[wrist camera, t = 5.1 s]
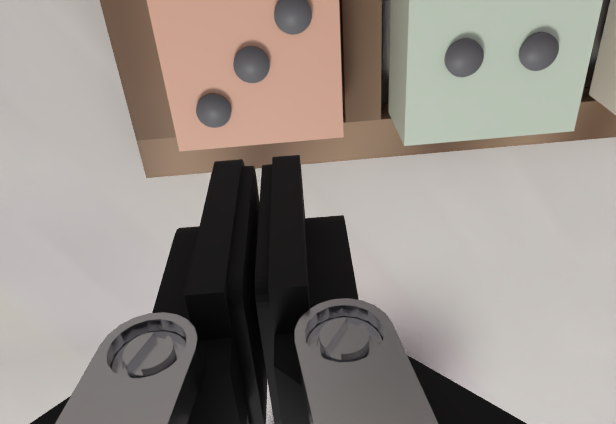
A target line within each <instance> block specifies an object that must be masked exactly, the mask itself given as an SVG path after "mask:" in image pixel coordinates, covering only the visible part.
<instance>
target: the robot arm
mask: <svg viewBox="0 0 616 424" xmlns="http://www.w3.org/2000/svg"><path fill="white" fill-rule="evenodd" d="M267 379H268V385H269V392H270V398H271V405H272V411H273V417H274V423H275V424H526V423H525V422H523V421H521V420H519V419H518V418H516V417H514V416H512V415H511V414H509V413H507V412H505V411H504V410H502V409H500V408H498V407H497V406H495V405H493V404H491V403H490V402H488V401H486V400H484V399H483V398H481V397H479V396H477V395H476V394H474V393H472V392H471V391H469V390H467V389H465V388H464V387H462V386H460V385H458V384H457V383H455V382H453V381H451V380H450V379H448V378H446V377H444V376H443V375H441V374H439V373H437V372H436V371H434V370H432V369H430V368H429V367H427V366H425V365H423V364H422V363H420V362H418V361H416V360H415V359H413V358H411V357H409V356H408V355H407V354H406V352H405V350H404V348H403V345H402V343H401V341H400V339H399V337H398V334H397V332H396V330H395V328H394V326H393V323H392V322H391V320H390V319H389V318H388V316H387V315H386V313H384V312H383V311H382V310H380V309H379V308H378V307H376V306H375V305H373V304H370V303H367V302H365V301H362V300H358V294H357V288H356V282H355V277H354V271H353V265H352V259H351V254H350V248H349V242H348V236H347V230H346V225H345V219H344V216H330V217H317V218H305V211H304V199H303V187H302V175H301V163H300V155H291V156H278V157H272V164H268V165H262V175H261V190H260V202H259V195H258V187H257V180H256V172H255V167H254V166H245V165H244V161H243V159H239V160H226V161H215V162H214V165H213V170H212V174H211V179H210V183H209V187H208V192H207V196H206V201H205V205H204V210H203V214H202V218H201V223H200V227H187V228H179V229H177V231H176V233H175V236H174V240H173V243H172V247H171V250H170V253H169V257H168V260H167V264H166V267H165V271H164V274H163V278H162V281H161V285H160V288H159V292H158V295H157V299H156V302H155V306H154V309H153V313H149V314H145V315H142V316H138V317H135V318H133V319H131V320H129V321H127V322H125V323H123V324H121V325H119V326H118V327H117V328H116V329H114V330H113V331H112V332H111V333H109V334H108V335H107V337H106V338H105V339H104V341H103V342H102V343H101V344H100V346H99V348H98V349H97V351H96V353H95V355H94V356H93V358H92V360H91V362H90V363H89V365H88V367H87V369H86V370H85V372H84V374H83V376H82V377H81V379H80V381H79V383H78V384H77V386H76V388H75V390H74V391H73V393H72V395H71V396H70V397H68V398H67V399H66V400H64V401H63V402H61V403H60V404H58V405H57V406H55V407H54V408H52V409H51V410H49V411H48V412H46V413H45V414H43V415H42V416H40V417H39V418H38V419H36V420H35V421H33V422H32V423H30V424H266V405H267Z"/></svg>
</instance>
